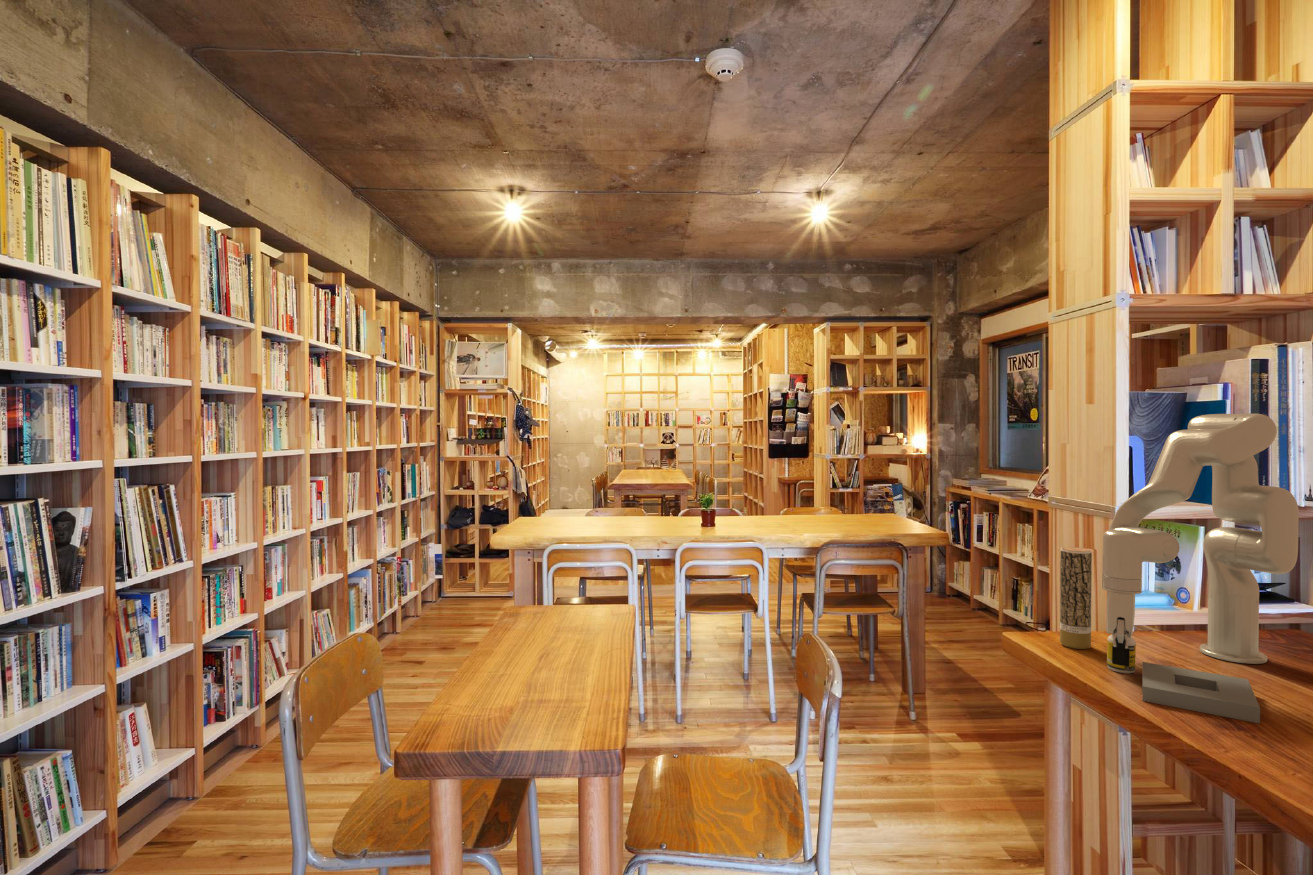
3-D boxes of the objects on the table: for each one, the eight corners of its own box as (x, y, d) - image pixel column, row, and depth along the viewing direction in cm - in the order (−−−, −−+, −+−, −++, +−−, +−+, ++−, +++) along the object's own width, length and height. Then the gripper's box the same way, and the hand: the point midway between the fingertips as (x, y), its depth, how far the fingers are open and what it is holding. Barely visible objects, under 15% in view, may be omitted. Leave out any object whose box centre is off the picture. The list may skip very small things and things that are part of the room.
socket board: (1142, 674, 151) (1142, 661, 151) (1247, 693, 141) (1247, 679, 141) (1142, 700, 137) (1142, 686, 137) (1259, 723, 126) (1260, 707, 126)
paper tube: (1095, 651, 168) (1096, 552, 168) (1066, 649, 169) (1066, 551, 169) (1084, 642, 174) (1084, 547, 174) (1055, 641, 176) (1056, 546, 176)
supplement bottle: (1127, 675, 151) (1127, 632, 151) (1102, 668, 156) (1102, 626, 156) (1140, 671, 153) (1140, 629, 153) (1115, 664, 158) (1115, 623, 158)
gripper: (1104, 575, 164) (1103, 646, 164) (1100, 588, 150) (1099, 667, 150) (1141, 579, 159) (1141, 652, 159) (1141, 593, 145) (1141, 674, 145)
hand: (1121, 659), depth 155 cm, fingers open, 7 cm apart
